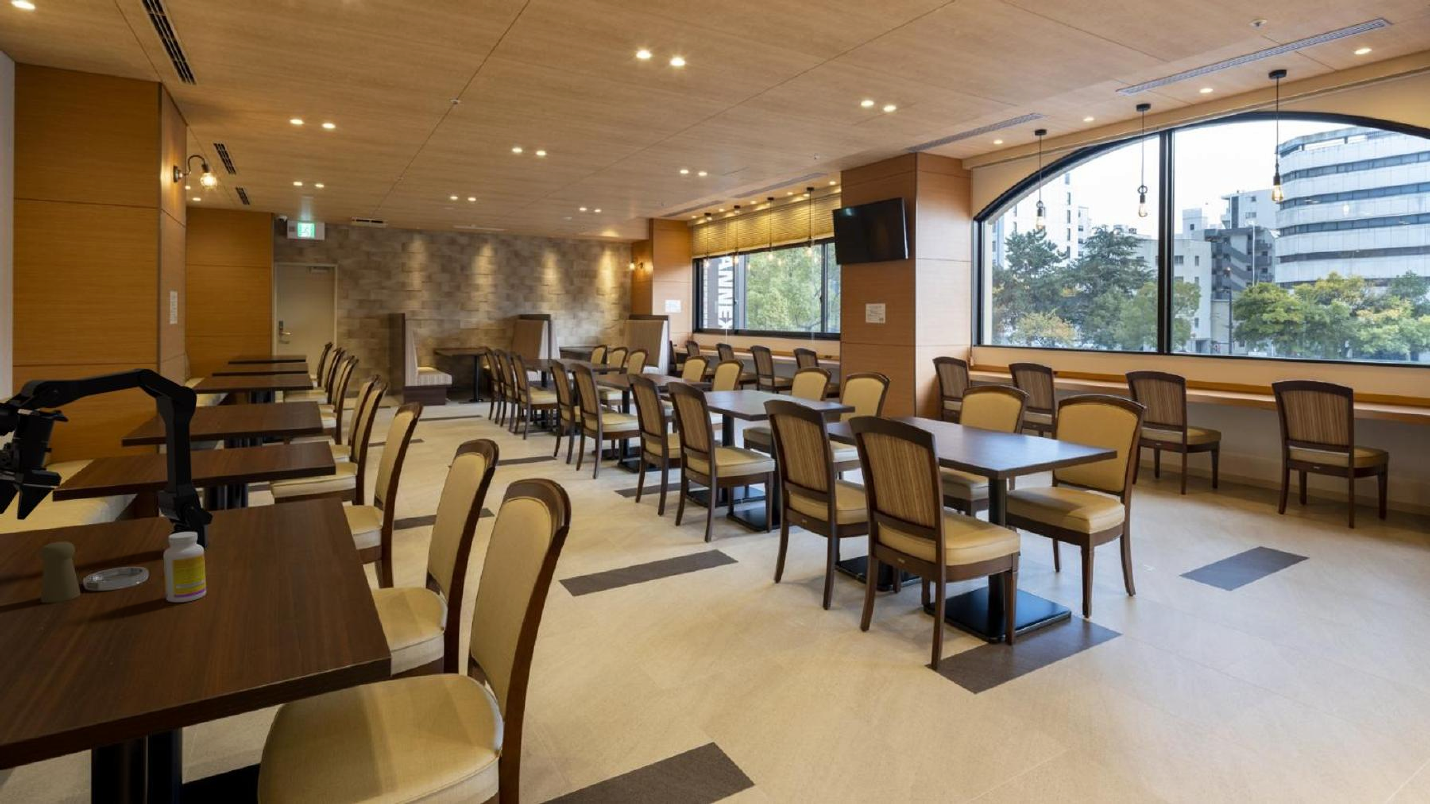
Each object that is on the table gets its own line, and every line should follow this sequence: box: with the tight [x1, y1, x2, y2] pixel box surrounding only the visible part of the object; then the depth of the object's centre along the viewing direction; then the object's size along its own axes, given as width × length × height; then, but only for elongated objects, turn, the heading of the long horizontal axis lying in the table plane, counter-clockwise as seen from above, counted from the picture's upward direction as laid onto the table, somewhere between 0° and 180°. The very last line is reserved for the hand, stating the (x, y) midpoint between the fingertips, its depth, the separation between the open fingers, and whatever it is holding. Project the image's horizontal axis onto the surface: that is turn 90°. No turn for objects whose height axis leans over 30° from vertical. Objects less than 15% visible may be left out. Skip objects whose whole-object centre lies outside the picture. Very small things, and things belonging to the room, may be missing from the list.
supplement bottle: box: [163, 532, 207, 603], centre depth 151 cm, size 7×7×13 cm
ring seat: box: [82, 566, 149, 592], centre depth 160 cm, size 10×10×2 cm
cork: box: [39, 541, 81, 604], centre depth 151 cm, size 6×6×11 cm
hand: (9, 516), depth 153 cm, fingers open, 9 cm apart
